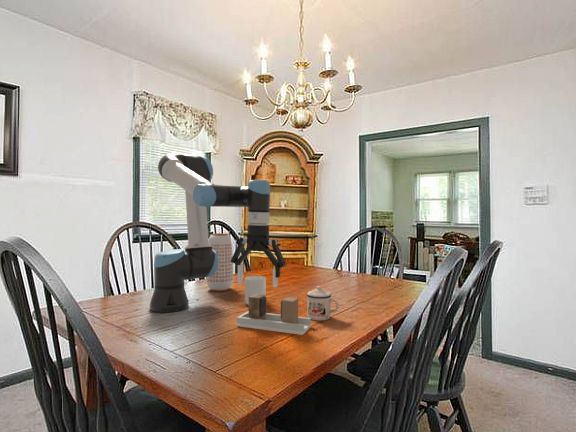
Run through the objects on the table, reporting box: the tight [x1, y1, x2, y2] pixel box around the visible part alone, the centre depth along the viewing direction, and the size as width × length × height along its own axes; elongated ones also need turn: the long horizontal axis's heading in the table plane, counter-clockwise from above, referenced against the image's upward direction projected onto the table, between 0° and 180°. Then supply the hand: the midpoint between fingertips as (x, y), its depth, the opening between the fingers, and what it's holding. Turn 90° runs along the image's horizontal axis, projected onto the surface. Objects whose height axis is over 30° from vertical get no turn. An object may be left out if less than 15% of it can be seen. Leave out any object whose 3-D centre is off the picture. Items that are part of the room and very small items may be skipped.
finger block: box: [248, 294, 267, 320], centre depth 125 cm, size 5×5×9 cm
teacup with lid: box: [306, 285, 340, 322], centre depth 133 cm, size 12×9×12 cm
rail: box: [236, 296, 312, 336], centre depth 123 cm, size 24×9×10 cm, turn 69°
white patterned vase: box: [205, 232, 234, 292], centre depth 180 cm, size 13×13×28 cm
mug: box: [244, 275, 267, 307], centre depth 154 cm, size 12×9×11 cm
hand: (257, 284), depth 125 cm, fingers open, 13 cm apart
